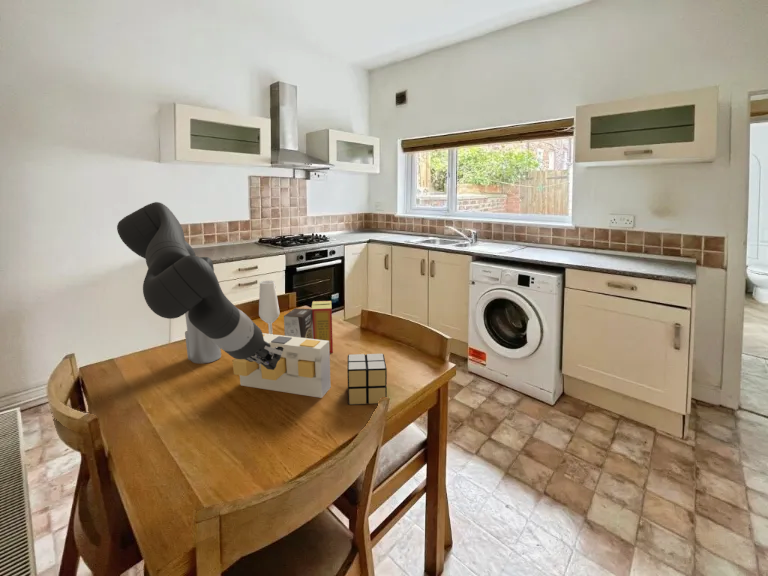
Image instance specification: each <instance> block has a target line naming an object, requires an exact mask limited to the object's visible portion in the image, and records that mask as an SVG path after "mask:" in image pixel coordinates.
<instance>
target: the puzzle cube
mask: <svg viewBox="0 0 768 576" xmlns="http://www.w3.org/2000/svg"><path fill="white" fill-rule="evenodd" d="M385 359H386V358H385V353H384V354H383V353H367V354H364V353H359V354H358V353H357V354H348V355H347V403H348V405H350V406H352V405H353V406H354V405H355V406H357V405H367V404H368V405H374V404H375V405H378V401H379V400H380V398H382V397H387V382H388V378H387V377H388V371H387V370H388V369H387V365H386V363H387V362H386V360H385Z"/></svg>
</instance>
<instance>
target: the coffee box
mask: <svg viewBox="0 0 768 576" xmlns="http://www.w3.org/2000/svg"><path fill="white" fill-rule="evenodd" d="M283 325H284V326H283V327H284V329H283V330H284V336H292V337H300V338H309V339H314V338H313V313H312V308H297V307H294V308H293V309H292V310H291V311H289V312H287V313H286V314H284V315H283Z"/></svg>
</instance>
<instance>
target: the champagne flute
mask: <svg viewBox="0 0 768 576" xmlns="http://www.w3.org/2000/svg"><path fill="white" fill-rule="evenodd" d="M258 295H259V296H258V297H259V298H258V299H259V300H258V316H259V317H260V319H261V321H264V322H265V323H266V324H268V325H267V326H268V334H273V323H274V322H276V320H277V319H278V318H279V317H280V307H279V300H278V294H277V289H276V283H275V280H262V281H260V282H259V294H258Z"/></svg>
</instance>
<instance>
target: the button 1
mask: <svg viewBox="0 0 768 576" xmlns="http://www.w3.org/2000/svg"><path fill="white" fill-rule="evenodd" d="M257 368H259V364H258V363H256V362H255V361H253V362H249V361H248V360H245V359H235V358H234V359H232V369H233V375H235V376H240V375H242V376H248V375H249V374H251V373H252V372H253V371H255V370H256V369H257Z"/></svg>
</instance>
